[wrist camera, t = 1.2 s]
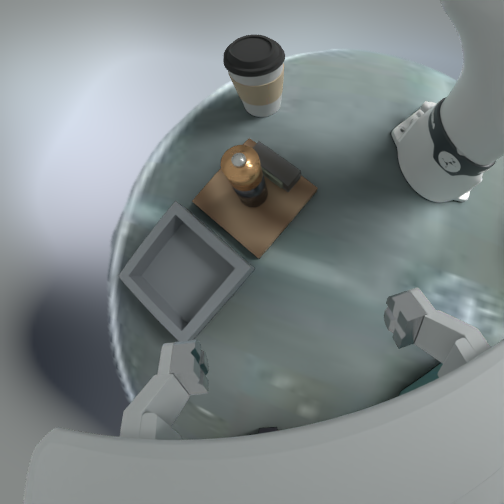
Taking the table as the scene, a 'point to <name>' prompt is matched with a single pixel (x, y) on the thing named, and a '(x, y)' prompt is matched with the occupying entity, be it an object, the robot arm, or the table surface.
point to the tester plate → (266, 215)
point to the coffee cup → (256, 73)
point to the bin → (184, 273)
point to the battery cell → (245, 174)
